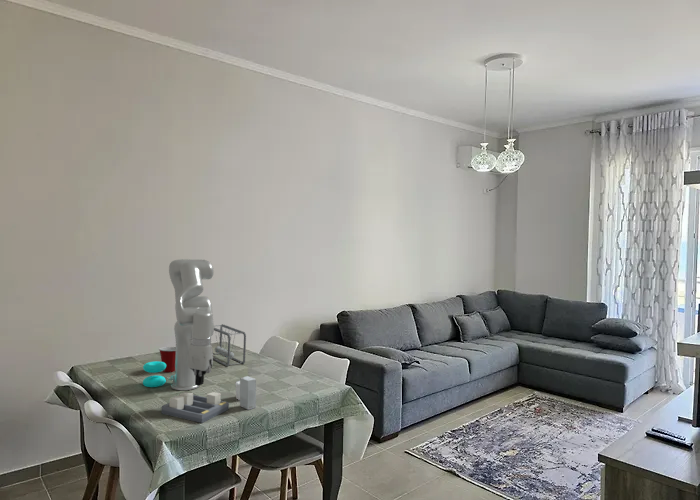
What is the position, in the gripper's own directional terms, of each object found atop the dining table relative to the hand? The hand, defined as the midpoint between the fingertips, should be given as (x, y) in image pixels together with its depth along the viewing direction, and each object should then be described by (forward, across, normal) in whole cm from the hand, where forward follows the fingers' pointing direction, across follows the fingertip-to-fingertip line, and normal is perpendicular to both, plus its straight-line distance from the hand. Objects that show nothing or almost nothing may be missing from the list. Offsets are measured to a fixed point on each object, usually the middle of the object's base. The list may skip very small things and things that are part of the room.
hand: (199, 384), depth 196 cm
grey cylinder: (+9, +11, +16) cm, 21 cm away
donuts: (+11, -35, +10) cm, 38 cm away
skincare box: (+8, +19, +8) cm, 22 cm away
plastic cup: (+12, -45, +30) cm, 56 cm away
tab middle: (+7, -1, -6) cm, 9 cm away
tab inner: (+6, +9, -1) cm, 11 cm away
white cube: (+6, -1, -12) cm, 13 cm away
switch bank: (+8, +4, -6) cm, 11 cm away
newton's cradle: (+13, -35, +62) cm, 73 cm away
